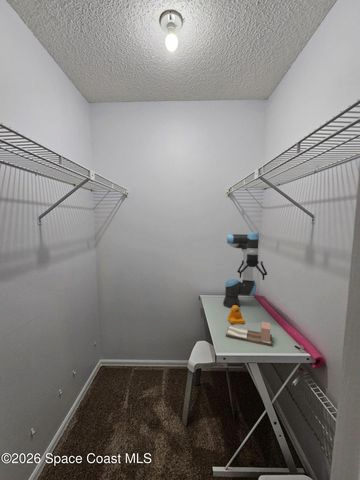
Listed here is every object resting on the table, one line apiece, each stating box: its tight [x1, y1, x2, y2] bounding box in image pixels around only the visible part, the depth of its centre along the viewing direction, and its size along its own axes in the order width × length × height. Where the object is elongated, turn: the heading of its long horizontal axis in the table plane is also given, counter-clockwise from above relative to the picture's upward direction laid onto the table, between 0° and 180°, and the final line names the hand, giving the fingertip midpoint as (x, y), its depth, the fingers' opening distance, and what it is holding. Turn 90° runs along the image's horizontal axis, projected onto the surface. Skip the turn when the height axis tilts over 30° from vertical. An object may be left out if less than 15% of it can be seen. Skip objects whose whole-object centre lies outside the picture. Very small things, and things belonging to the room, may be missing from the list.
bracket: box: [227, 305, 246, 326], centre depth 154 cm, size 11×7×12 cm, turn 94°
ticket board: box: [225, 326, 274, 347], centre depth 134 cm, size 12×28×2 cm, turn 68°
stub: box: [260, 321, 271, 342], centre depth 130 cm, size 9×5×8 cm, turn 158°
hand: (251, 283), depth 147 cm, fingers open, 13 cm apart
